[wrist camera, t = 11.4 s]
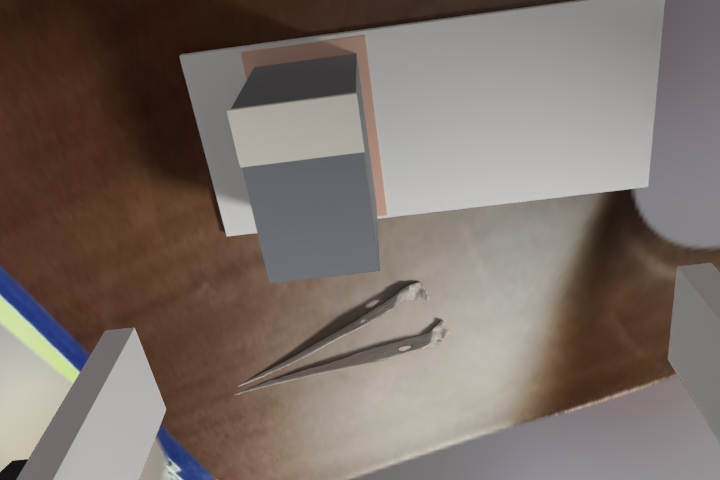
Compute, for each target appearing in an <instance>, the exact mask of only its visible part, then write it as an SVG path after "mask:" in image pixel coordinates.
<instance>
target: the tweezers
mask: <svg viewBox="0 0 720 480" xmlns="http://www.w3.org/2000/svg"><path fill="white" fill-rule="evenodd" d="M413 299H415V300H416V299H424V300H429V297H428V294H427V292H426V290H425V287H424V285H423V284H422V283H420V282H417V283H414V284H411V285H409V286H407V287H405V288H404V289H402V290H401V291H399V292H398V293H397V294H396V295H395V296H393V297H392V298H390V299H389V300H387V301H386V302H385V303H383V304H382V305H380V306H378V307H376V308H375V309H373V310H372V311H370V312H368V313H367V314H365V315H364V316H362V317H361V318H359V319H358V320H356V321H354V322H353V323H351V324H349V325H348V326H346V327H344V328H343V329H341V330H339V331H337V332H335V333H334V334H332V335H330V336H328V337H327V338H325V339H323V340H321V341H320V342H318V343H316V344H314V345H313V346H311V347H309V348H307V349H306V350H304V351H302V352H300V353H299V354H297V355H295V356H293V357H292V358H290V359H288V360H286V361H284V362H282V363H281V364H279V365H277V366H275V367H273V368H271V369H269V370H267V371H265V372H263V373H261V374H259V375H257V376H256V377H254V378H252V379H250V380H248V381H246V382H244V383H242V384H241V385H239V386H242V385H244V384H247V383H249V382H251V381H254V380H256V379H259V378H261V377H264V376H266V375H267V374H270V373H272V372H274V371H277V370H279V369H281V368H283V367H285V366H288V365H290V364H292V363H294V362H296V361H298V360H300V359H302V358H304V357H306V356H308V355H310V354H312V353H314V352H316V351H317V350H319V349H321V348H323V347H325V346H326V345H328V344H330V343H332V342H334V341H336V340H337V339H339V338H341V337H343V336H345V335H347V334H349V333H351V332H354V331H356V330H358V329H359V328H361V327H363V326H365V325H367V324H369V323H370V322H372V321H374V320H376V319H377V318H379V317H381V316H382V315H384V314H385V313H386V312H389V311H390V310H392V309H394V308H396V306H397V304H398V303H399V302H401V301H402V300H413ZM448 334H449V329H448V328H447V326H446V325H445V324H444V322H443V320H441V321H440V322H439V323H438V324H437V325H436V326H435V327H434V328H433V329H432V330H431V331H430V332H429V333H427V334H423V335H420V336H416V337H412V338H408V339H405V340H401V341H398V342H394V343H390V344H387V345H383V346H380V347H377V348H373V349H370V350H367V351H363V352H360V353H356V354H353V355H351V356H349V357H347V358H344V359H341V360H338V361H335V362H331V363H328V364H325V365H322V366H317V367H314V368H311V369H307V370H303V371H300V372H298V373H293V374H291V375H288V376H283V377H281V378H279V379H275V380H270V381H268V382H265V383H263V384H260V385H257V386H254V387H252V388H249V389H247V390H244V391H242V392H239V393H237V394H235V395H238V394H241V393H244V392H248V391H252V390H256V389H259V388H263V387H267V386H271V385H275V384H279V383H284V382H288V381H293V380H296V379H301V378H304V377H309V376H313V375H318V374H322V373H327V372H332V371H337V370H342V369H347V368H352V367H357V366H362V365H367V364H372V363H378V362H381V361H384V360H388V359H391V358H393V357H396V356H400V355H402V354H405V353H409V352H412V351H416V350H420V349H423V348H431V347H433V346H436V345H439V344H442V343H443V342H442V340H444V339H446V338H447V335H448ZM409 345H410V346H411V348H410V349H407V350H405V351H399V350H398V349H399V348H400V347H403V346H409ZM239 386H238V387H239Z"/></svg>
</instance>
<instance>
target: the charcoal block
mask: <svg viewBox="0 0 720 480" xmlns="http://www.w3.org/2000/svg"><path fill="white" fill-rule="evenodd" d="M227 115H228V119H229V123H230V128H231V132H232V136H233V140H234V144H235V148H236V153H237V157H238V161H239V165H240V168H242V170H243V174H244V178H245V182H246V187H247V191H248V195H249V199H250V203H251V208H252V212H253V216H254V220H255V224H256V229H257V233H258V237H259V241H260V245H261V250H262V254H263V258H264V262H265V266H266V271H267V275H268V279H269V283H277V282H286V281H295V280H304V279H312V278H321V277H330V276H339V275H348V274H356V273H365V272H374V271H380V261H379V242H378V223H377V204H376V196H375V188H374V181H373V173H372V166H371V158H370V151H369V143H368V136H367V129H366V121H365V114H364V106H363V99H362V91H361V84H360V76H359V69H358V61H357V54H356V53H355V54H348V55H340V56H333V57H325V58H318V59H311V60H303V61H296V62H288V63H281V64H274V65H266V66H259V67H254V68H253V70H252V72H251V74H250V75H249V77H248V79H247V81H246V83H245V84H244V86H243V88H242V90H241V92H240V93H239V95H238V97H237V99H236V100H235V102H234V104H233V106H232V108H231V109H227Z"/></svg>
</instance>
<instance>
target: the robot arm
mask: <svg viewBox="0 0 720 480" xmlns="http://www.w3.org/2000/svg"><path fill="white" fill-rule="evenodd" d="M668 361H669V362H670V364H671V365H672V367H673V369H674V370H675V372H676V374H677V375H678V377H679V378H680V380H681V381H682V383H683V385H684V386H685V388H686V390H687V391H688V393H689V395H690V396H691V398H692V399H693V401H694V403H695V404H696V406H697V407H698V409H699V411H700V412H701V414H702V415H703V417H704V419H705V421H706V422H707V424H708V425H709V427H710V429H711V430H712V432H713V433H714V435H715V437H716V438H717V440H718V441H719V443H720V272H719V271H718V270H717V269H716V267H715V266H714V265H713V264H712V263H705V264H696V265H687V266H678V267H677V273H676V283H675V293H674V303H673V313H672V322H671V332H670V342H669V352H668ZM165 412H166V407H165V405H164V402H163V400H162V397H161V395H160V392H159V389H158V387H157V384H156V382H155V379H154V376H153V374H152V371H151V369H150V366H149V364H148V361H147V358H146V356H145V353H144V351H143V348H142V345H141V343H140V340H139V338H138V335H137V332H136V330H135V327H134V328H125V329H116V330H107V331H105V332H104V334H103V335H102V337H101V339H100V340H99V342H98V344H97V345H96V347H95V349H94V350H93V352H92V354H91V355H90V357H89V359H88V360H87V362H86V364H85V365H84V367H83V369H82V370H81V372H80V374H79V375H78V377H77V379H76V380H75V382H74V384H73V385H72V387H71V389H70V390H69V392H68V394H67V396H66V397H65V399H64V401H63V402H62V404H61V406H60V407H59V409H58V411H57V412H56V414H55V416H54V417H53V419H52V421H51V423H50V424H49V426H48V427H47V429H46V431H45V432H44V434H43V436H42V437H41V439H40V441H39V442H38V444H37V446H36V447H35V449H34V451H33V452H32V454H31V456H30V457H29V459H27V460H17V461H12V462H11V463H10V464H9V465H8V466H6V467H5V468H4V469H3V470H2V471H1V472H0V480H139V478H140V475H141V473H142V470H143V468H144V465H145V462H146V460H147V458H148V455H149V453H150V450H151V447H152V445H153V442H154V440H155V437H156V435H157V432H158V430H159V427H160V425H161V422H162V419H163V417H164V414H165Z"/></svg>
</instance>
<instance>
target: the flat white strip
mask: <svg viewBox="0 0 720 480" xmlns="http://www.w3.org/2000/svg"><path fill="white" fill-rule="evenodd" d="M664 8H665V0H575V1H568V2H560V3H553V4H546V5H538V6H531V7H524V8H516V9H509V10H502V11H494V12H487V13H480V14H472V15H465V16H458V17H450V18H443V19H435V20H428V21H421V22H413V23H406V24H399V25H391V26H384V27H377V28H369V29H362V30H355V31H347V32H340V33H333V34H325V35H318V36H311V37H303V38H296V39H289V40H281V41H274V42H267V43H259V44H252V45H245V46H237V47H230V48H223V49H215V50H208V51H201V52H193V53H186V54H181V55H180V56H179V57H180V61H181V65H182V69H183V73H184V76H185V80H186V84H187V88H188V92H189V95H190V99H191V103H192V107H193V110H194V114H195V118H196V122H197V126H198V129H199V133H200V137H201V141H202V145H203V148H204V152H205V156H206V160H207V164H208V167H209V171H210V175H211V179H212V183H213V186H214V190H215V194H216V198H217V201H218V205H219V209H220V213H221V217H222V220H223V224H224V228H225V232H226V236H235V235H243V234H252V233H257V229H256V224H255V220H254V216H253V212H252V208H251V203H250V199H249V195H248V191H247V187H246V182H245V178H244V174H243V170H242V168H240V165H239V161H238V157H237V153H236V148H235V144H234V140H233V136H232V132H231V128H230V123H229V119H228V115H227V109H231V108H232V106H233V104H234V102H235V100H236V99H237V97H238V95H239V93H240V92H241V90H242V88H243V86H244V84H245V83H246V81H247V79H248V77H249V75H250V74H251V72H252V70H253V68H254V67H259V66H266V65H274V64H281V63H288V62H296V61H303V60H311V59H318V58H325V57H333V56H340V55H348V54H355V53H356V54H357V61H358V69H359V76H360V84H361V91H362V99H363V106H364V114H365V121H366V129H367V136H368V143H369V151H370V158H371V166H372V173H373V181H374V188H375V196H376V204H377V219H379V218H388V217H396V216H405V215H413V214H422V213H430V212H439V211H447V210H456V209H464V208H473V207H481V206H490V205H498V204H507V203H515V202H524V201H532V200H541V199H549V198H558V197H566V196H575V195H583V194H592V193H600V192H609V191H617V190H626V189H634V188H643V187H648V183H649V172H650V161H651V150H652V139H653V128H654V117H655V106H656V96H657V85H658V73H659V63H660V52H661V41H662V29H663V19H664Z"/></svg>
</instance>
